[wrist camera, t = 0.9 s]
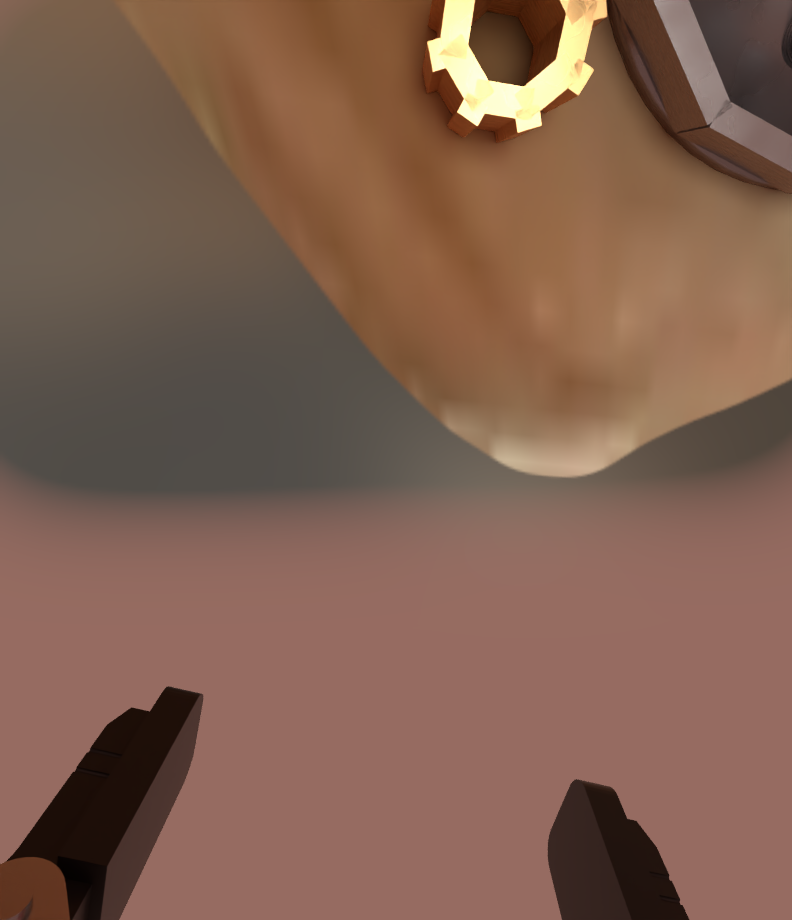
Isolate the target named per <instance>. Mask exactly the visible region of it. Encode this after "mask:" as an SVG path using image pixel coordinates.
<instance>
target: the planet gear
mask: <svg viewBox="0 0 792 920" xmlns="http://www.w3.org/2000/svg"><path fill="white" fill-rule="evenodd" d="M487 11H488V12H494V13H500V14H505V15H511V16H517V17H518V18H519V20H520V22H521V24H522V26H523V28H524V30H525V31H526V33H527V35H528V37H529V39H530V41H531V43H532V45H533V47H534V50H533V55H532V60H531V65H530V70H529V75H528V80H527V84H526V85H525V86H524V87H523V86H517V85H511V84H505V83H499V82H493V81H488V79H487V78H486V76H485V74H484V72H483V70H482V69H481V67H480V65H479V63H478V62H477V60H476V58H475V56H474V55H473V53H472V51H471V49H470V48H469V46H468V41H469V35H470V29H471V25H472V24H473V23H474V22H476V21H477V20H478V19H479V18H480V17H481V16H482V15H483V14H484V13H485V12H487ZM606 17H607V6H606V0H432V5H431V10H430V16H429V22H428V27H429V28H431V29H432V30H433V31H435V32H436V33H437V38H436V39H435V40H432V41H429V42H427V47H426V52H425V57H424V63H423V68H422V73H423V78H424V83H425V88H426V93H427V94H429V93H432V92H435V91H438V93H439V95H440V96H441V98H442V100H443V101H444V103H445V104H446V106H447V108H448V109H449V111H450V113H451V114H452V117H451V119H450V121H449V123H448V125H447V127H448V128H450V129H451V130H453V131H454V132H455V133H457V134H458V135H460V136H461V137H463V138H464V137H465V136H466V135H467V134H469V133H470V132H471V131H472V130H474V129H481V130H488V131H494V132H495V138H496V143H499V142H502V141H505V140H509V139H512V138H516V137H518V136H520V135H522V134H524V133H526V132H529V131H531V130H533V129H535V128H537V127H540V126H542V124H541V116H540V111H541V110H542V111H543V112H544V113H547V112H549V111H550V110H552V109H554V108H556V107H558V106H560V105H562V104H564V103H565V102H567V101H569V100H571V99H573V98H575V97H577V96H578V95H579V94H580V92H581V90H582V89H583V87H584V85H585V84H586V82H587V81H588V79H589V77H590V76H591V74H592V72H593V71H594V69H592V68H591V67H590V66H589V65H587V64H586V63H585V62H584V59H585V54H586V50H587V46H588V42H589V38H590V33H591V30H592V29H593V28H594V27H595V26H596V25H597V24H599V23H600V22H601V21H602V20H603V19H605V18H606Z"/></svg>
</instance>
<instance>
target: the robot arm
mask: <svg viewBox="0 0 792 920" xmlns="http://www.w3.org/2000/svg"><path fill="white" fill-rule="evenodd" d="M202 703H203V694H200V693H195V692H191V691H186V690H182V689H178V688H173V687H166V688H165V689H164V691H163V692H162V693H161V695H160V697H159V698H158V700H157V701H156V703H155V704H154V706H153V708H152V709H151V711H150V712H149V711H144V710H140V709H136V708H130V709H129V710H127V711H126V712H124V713H123V714H122V715H120V716H119V717H117V718H116V719H115V720H113V721H112V722H110V723H109V724H108V725H107V726H106V727H105V728H104V730H103V731H102V733H101V734H100V735H99V737H98V738H97V740H96V741H95V742H94V744H93V745H92V747H91V748H90V751H89V752H88V753H86V755H85V756H84V758H83V759H82V761H81V762H80V763H79V765H78V766H77V769H76V771H75V772H73V773H72V774H71V776H70V777H69V778H68V780H67V781H66V783H65V784H64V785H63V787H62V788H61V790H60V791H59V792H58V794H57V795H56V796H55V798H54V799H53V801H52V802H51V803H50V805H49V806H48V808H47V809H46V810H45V812H44V813H43V814H42V816H41V817H40V819H39V820H38V822H37V823H36V824H35V826H34V827H33V829H32V830H31V831H30V833H29V834H28V835H27V837H26V838H25V840H24V841H23V842H22V844H21V845H20V847H19V848H18V849H17V850H16V851H15V853H14V854H13V855H12V856H11V857H10V858H9V859H8V860H7V861H6V862H4V863H2V864H0V920H119V919H120V917H121V915H122V912H123V910H124V908H125V906H126V904H127V902H128V900H129V898H130V895H131V893H132V891H133V889H134V887H135V885H136V883H137V881H138V878H139V877H140V874H141V872H142V870H143V868H144V866H145V864H146V862H147V859H148V857H149V855H150V853H151V851H152V849H153V847H154V845H155V843H156V841H157V838H158V836H159V834H160V832H161V830H162V828H163V826H164V824H165V822H166V819H167V817H168V815H169V813H170V811H171V809H172V807H173V805H174V803H175V800H176V798H177V796H178V794H179V792H180V790H181V788H182V786H183V783H184V781H185V779H186V776H187V773H188V770H189V767H190V764H191V761H192V758H193V754H194V749H195V743H196V737H197V731H198V726H199V720H200V715H201V709H202ZM548 862H549V868H550V872H551V876H552V880H553V884H554V888H555V892H556V896H557V901H558V904H559V908H560V913H561V917H562V920H689V918H688V916H687V914H686V912H685V909H684V907H683V905H680V898H679V896H678V894H677V892H676V889H675V887H674V885H673V883H672V881H670V880H669V874H668V871H667V869H666V867H665V865H664V863H663V860H662V858H661V856H660V854H659V851H658V849H657V847H656V846H655V845H654V843H653V842H652V841H651V840H650V838H649V837H648V836H647V834H646V833H645V832H644V830H643V829H642V828H641V826H640V825H639V824H638V823H637V821H634V820H629V819H627V817H626V815H625V813H624V810H623V808H622V805H621V803H620V801H619V798H618V796H617V794H616V792H615V791H614V789H612V788H611V787H608V786H604V785H600V784H595V783H590V782H586V781H582V780H577V779H576V780H574V781H573V782H572V783H571V785H570V787H569V790H568V792H567V794H566V796H565V799H564V801H563V803H562V806H561V808H560V810H559V812H558V815H557V817H556V820H555V822H554V824H553V826H552V829H551V832H550V835H549V840H548Z"/></svg>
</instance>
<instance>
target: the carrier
mask: <svg viewBox="0 0 792 920" xmlns="http://www.w3.org/2000/svg"><path fill="white" fill-rule="evenodd" d="M606 5H607V9H608V13H609V17H610V21H611V25H612V29H613V33H614V37H615V40H616V43H617V45H618V48H619V51H620V53H621V56H622V58H623V61H624V63H625V66H626V69H627V71H628V74H629V76H630V77H631V79H632V81H633V83H634V85H635V86H636V88H637V90H638V92H639V94H640V95H641V97H642V99H643V101H644V102H645V104H646V106H647V107H648V108H649V110H650V111H651V112H652V114H653V115H654V116H655V117H656V119H657V120H658V121H659V122H660V124H661V125H662V126H663V128H664V129H665V130H666V131H667V132H668V133H669V134H670V135H671V136H672V137H673V138H674V139H675V140H676V141H677V142H678V143H679V144H681V145H682V146H683V147H684V148H685V149H686V150H687V151H688V152H689V153H690V154H692V155H694V156H695V157H697V158H698V159H700V160H701V161H703V162H704V163H706V164H707V165H709V166H711V167H712V168H714V169H715V170H717V171H720V172H722V173H724V174H727V175H729V176H731V177H734V178H736V179H738V180H741V181H743V182H747V183H751V184H755V185H759V186H763V187H767V188H771V189H780V190H782V191H783V192H785V193H789V194H792V0H606Z"/></svg>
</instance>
